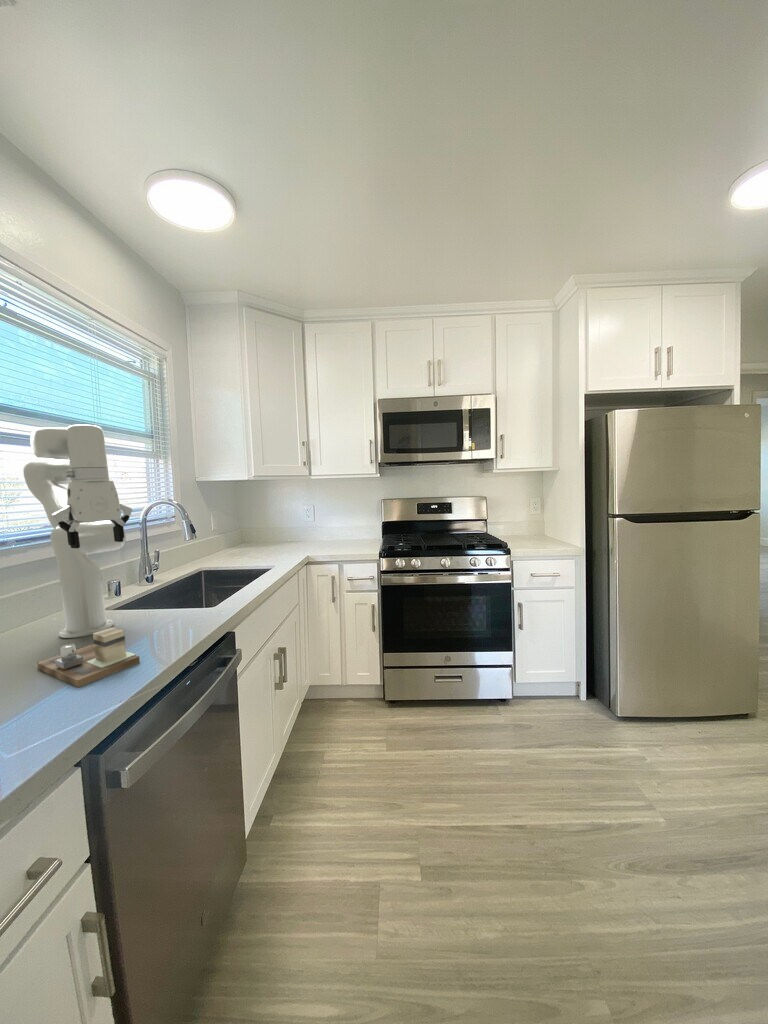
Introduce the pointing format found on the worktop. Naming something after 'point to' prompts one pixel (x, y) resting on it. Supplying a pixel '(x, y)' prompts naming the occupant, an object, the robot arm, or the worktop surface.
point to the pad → (102, 664)
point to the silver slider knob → (68, 657)
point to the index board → (84, 668)
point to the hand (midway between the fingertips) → (98, 544)
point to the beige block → (109, 645)
